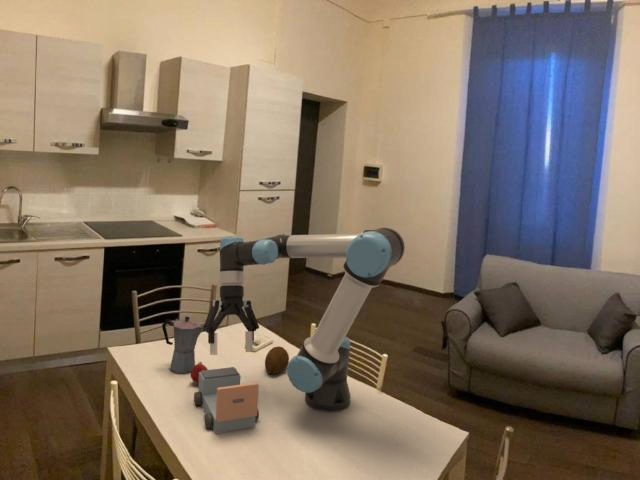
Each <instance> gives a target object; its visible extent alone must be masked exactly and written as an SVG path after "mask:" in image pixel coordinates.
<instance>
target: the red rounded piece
mask: <svg viewBox="0 0 640 480" xmlns="http://www.w3.org/2000/svg"><path fill="white" fill-rule="evenodd" d="M204 370H208V368H207V367H206V366H205V365H204V364H203V362H202V361H198V363H197V364H195V366H194V367H193V368H192V370H191V373H189V374H190V378H191V380H192V381H193V382H194V383H195V384H197V385H199V372H201V371H204Z"/></svg>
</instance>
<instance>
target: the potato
mask: <svg viewBox="0 0 640 480" xmlns="http://www.w3.org/2000/svg"><path fill="white" fill-rule="evenodd" d="M289 361H290V355H289V353H288V350H287V349H285V348H284V347H283V346H274V347H272V348H271V349H270V350H269V351H268V352H267V354H266V356H265V360H264V367H265V370H266V371H267V373H268V374H271V375H276V374H278V373H279V372H281V371H284V370H285V369H287V365H288V363H289Z"/></svg>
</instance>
